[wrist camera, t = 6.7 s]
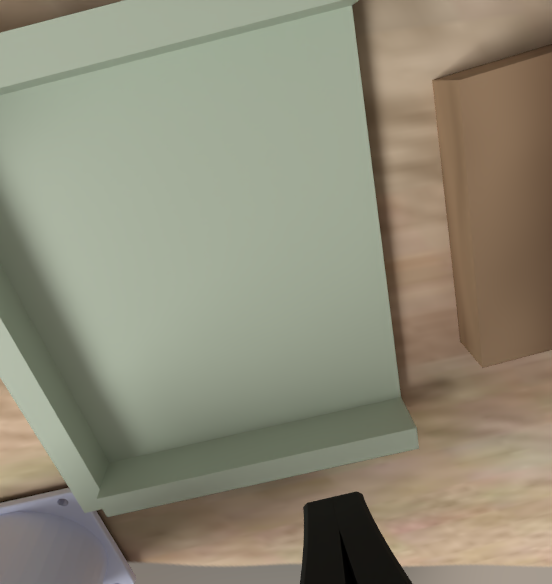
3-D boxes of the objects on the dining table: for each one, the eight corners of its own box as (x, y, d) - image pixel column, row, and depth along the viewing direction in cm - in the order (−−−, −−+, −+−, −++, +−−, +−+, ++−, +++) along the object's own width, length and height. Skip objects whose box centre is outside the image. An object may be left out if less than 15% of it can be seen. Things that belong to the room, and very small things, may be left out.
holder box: (97, 477, 22) (81, 523, 19) (-128, 84, 14) (-199, 84, 12) (400, 409, 21) (418, 448, 19) (342, -38, 13) (362, -62, 11)
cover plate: (455, 336, 20) (482, 368, 18) (427, 80, 15) (459, 80, 13) (608, 294, 20) (655, 322, 18) (627, 19, 15) (695, 8, 13)
